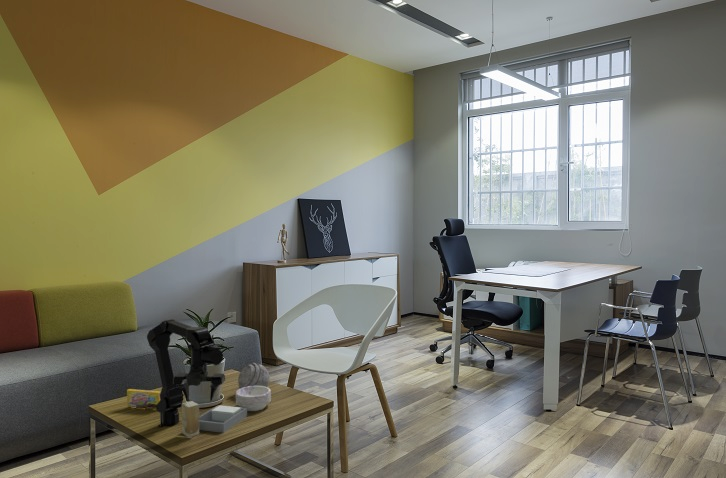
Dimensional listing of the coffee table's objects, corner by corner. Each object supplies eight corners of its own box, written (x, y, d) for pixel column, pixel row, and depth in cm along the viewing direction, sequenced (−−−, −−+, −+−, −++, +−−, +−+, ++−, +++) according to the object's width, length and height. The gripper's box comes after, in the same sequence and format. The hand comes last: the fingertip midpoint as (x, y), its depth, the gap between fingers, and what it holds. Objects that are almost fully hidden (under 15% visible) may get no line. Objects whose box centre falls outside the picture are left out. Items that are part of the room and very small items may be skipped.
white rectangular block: (211, 420, 217) (211, 410, 217) (220, 414, 223) (219, 405, 223) (233, 422, 214) (233, 412, 214) (241, 417, 220) (241, 407, 220)
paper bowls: (263, 415, 224) (262, 396, 223) (229, 413, 227) (229, 395, 226) (276, 403, 239) (275, 386, 238) (244, 401, 242) (244, 384, 241)
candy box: (126, 408, 235) (126, 390, 235) (130, 407, 237) (129, 388, 237) (158, 411, 231) (158, 392, 231) (161, 409, 233) (161, 390, 233)
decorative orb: (233, 393, 253) (232, 362, 253) (261, 387, 262) (260, 357, 261) (246, 401, 241) (246, 369, 241) (275, 395, 250) (274, 363, 250)
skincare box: (181, 434, 204) (180, 403, 204) (192, 431, 208) (191, 400, 207) (189, 439, 200) (188, 406, 200) (200, 435, 203) (199, 404, 203)
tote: (192, 430, 208) (192, 420, 208) (217, 414, 225) (217, 405, 225) (223, 434, 204) (223, 423, 204) (247, 417, 221) (247, 408, 221)
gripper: (167, 366, 196) (167, 408, 196) (217, 367, 195) (217, 408, 196) (178, 358, 207) (178, 397, 207) (225, 359, 207) (225, 398, 207)
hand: (199, 400), depth 204 cm, fingers open, 9 cm apart
